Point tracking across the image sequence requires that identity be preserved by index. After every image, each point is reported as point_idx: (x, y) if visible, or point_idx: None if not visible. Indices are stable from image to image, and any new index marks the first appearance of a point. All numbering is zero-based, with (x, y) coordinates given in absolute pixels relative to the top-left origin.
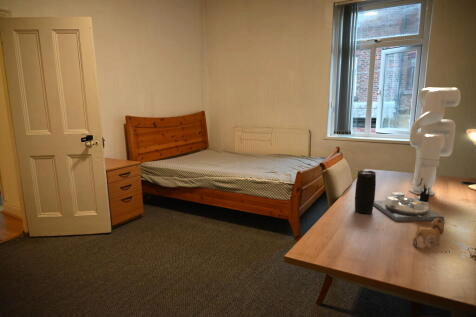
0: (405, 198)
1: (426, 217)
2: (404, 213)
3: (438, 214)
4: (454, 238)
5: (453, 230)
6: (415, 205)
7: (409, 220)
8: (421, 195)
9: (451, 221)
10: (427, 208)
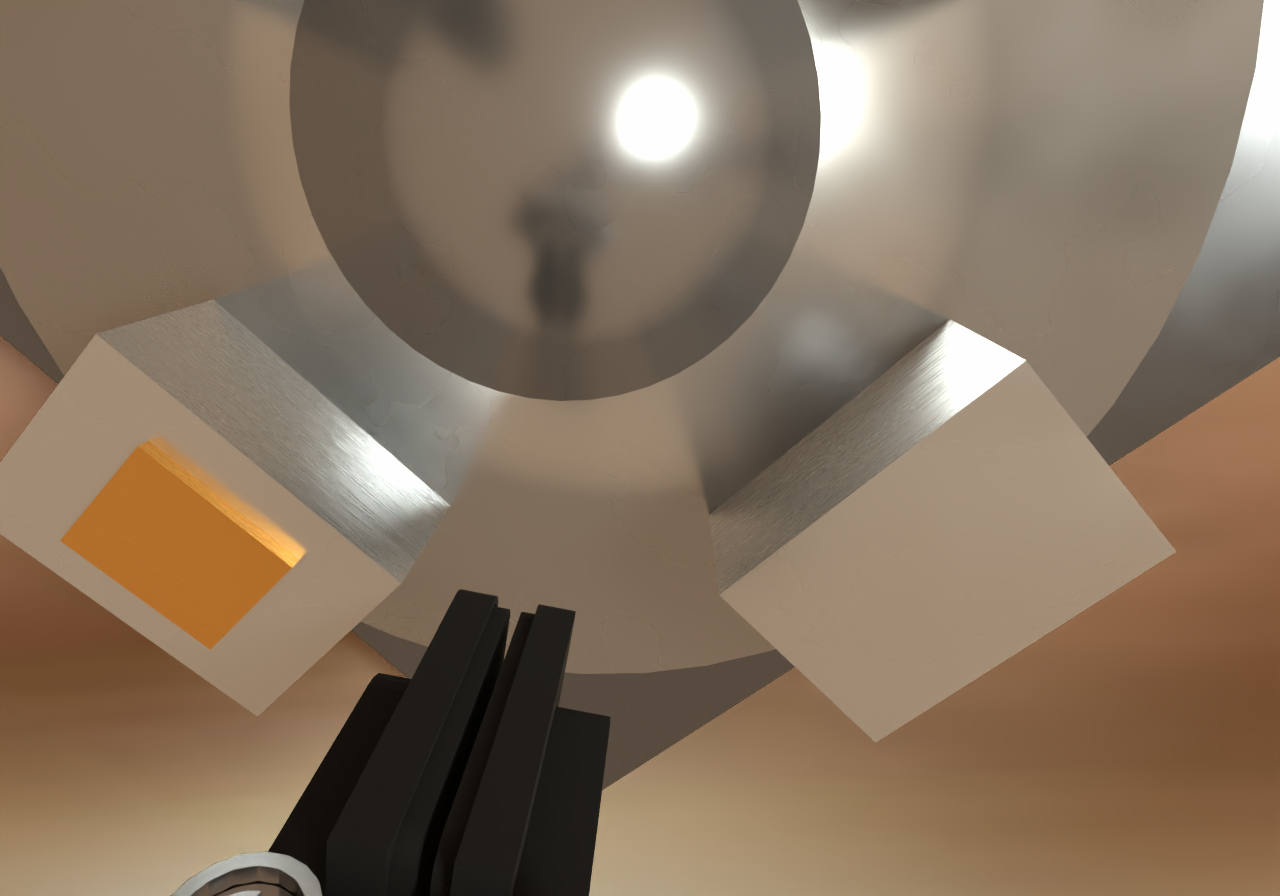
0: (561, 84)
1: None
2: None
3: (611, 741)
4: (6, 859)
5: None
6: (17, 516)
7: None
8: (382, 767)
9: (626, 821)
10: None
